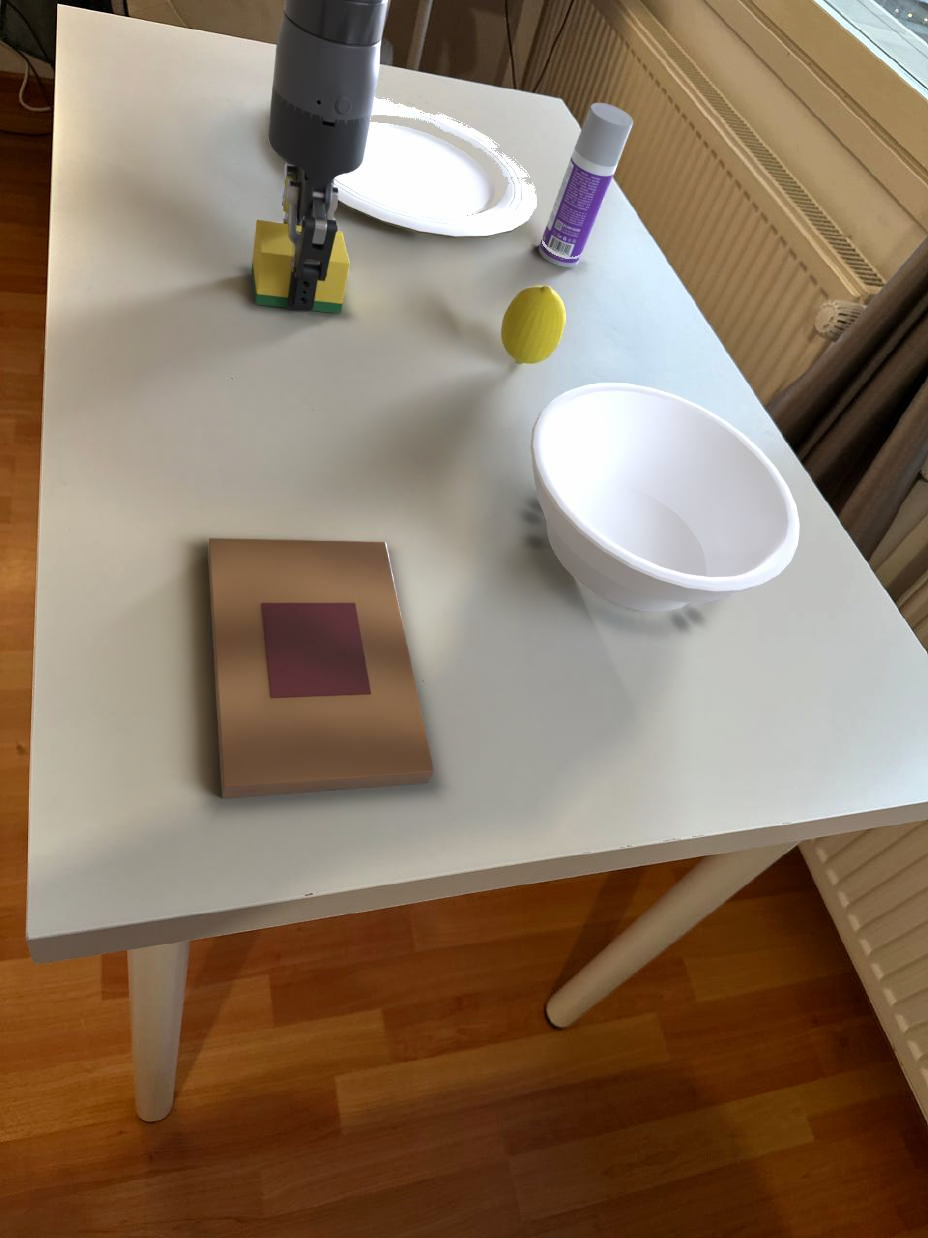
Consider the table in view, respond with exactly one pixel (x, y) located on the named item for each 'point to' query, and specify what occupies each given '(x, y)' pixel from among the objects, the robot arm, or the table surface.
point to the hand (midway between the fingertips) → (296, 288)
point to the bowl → (658, 498)
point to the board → (312, 669)
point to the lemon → (533, 324)
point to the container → (585, 183)
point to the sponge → (276, 271)
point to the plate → (433, 180)
